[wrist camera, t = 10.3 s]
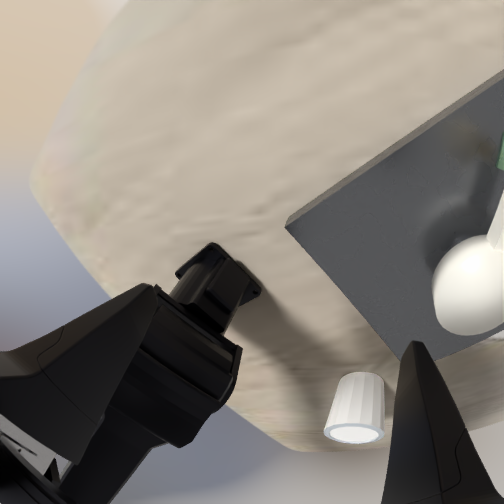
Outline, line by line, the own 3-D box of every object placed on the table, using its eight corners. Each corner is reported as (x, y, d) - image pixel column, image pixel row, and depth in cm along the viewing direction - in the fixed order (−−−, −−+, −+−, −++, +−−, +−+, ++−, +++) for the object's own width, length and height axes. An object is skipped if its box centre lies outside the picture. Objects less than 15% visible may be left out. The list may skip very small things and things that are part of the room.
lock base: (407, 359, 27) (407, 384, 24) (288, 217, 22) (278, 240, 19) (567, 276, 15) (580, 298, 12) (506, 67, 10) (530, 70, 7)
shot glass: (351, 362, 29) (342, 418, 24) (400, 378, 29) (397, 432, 23) (324, 387, 34) (313, 436, 28) (369, 401, 33) (362, 448, 28)
